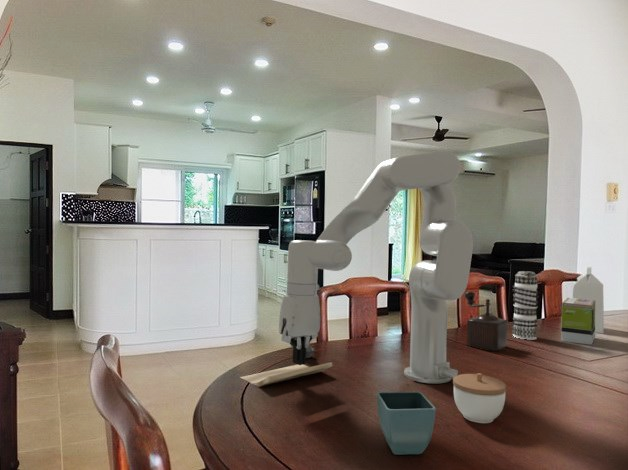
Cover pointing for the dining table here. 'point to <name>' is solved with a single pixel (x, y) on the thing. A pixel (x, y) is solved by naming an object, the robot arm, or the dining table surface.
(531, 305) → the decorative candle
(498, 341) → the dark brown coffee grinder
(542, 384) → the dining table surface
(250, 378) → the floor strip
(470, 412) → the lidded jar
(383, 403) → the flower pot
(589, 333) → the tea box
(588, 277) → the milk
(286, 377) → the plank
